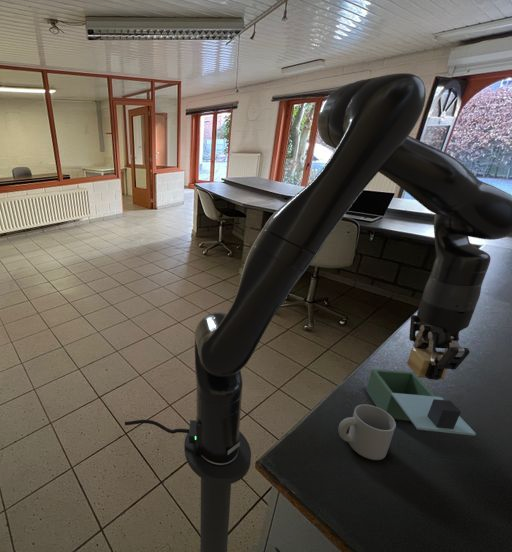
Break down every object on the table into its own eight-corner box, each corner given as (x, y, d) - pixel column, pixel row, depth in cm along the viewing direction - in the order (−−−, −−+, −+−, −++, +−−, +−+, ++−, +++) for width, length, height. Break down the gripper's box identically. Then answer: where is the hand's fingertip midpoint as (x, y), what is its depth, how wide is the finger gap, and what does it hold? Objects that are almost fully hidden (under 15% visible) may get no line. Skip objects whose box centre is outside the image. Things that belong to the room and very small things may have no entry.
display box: (384, 418, 74) (391, 394, 71) (366, 390, 83) (371, 368, 80) (429, 422, 72) (438, 399, 69) (405, 394, 81) (413, 371, 78)
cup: (393, 463, 63) (404, 433, 60) (341, 457, 65) (349, 427, 62) (375, 434, 70) (384, 405, 67) (329, 430, 72) (335, 401, 69)
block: (418, 377, 63) (424, 360, 61) (406, 364, 67) (411, 347, 65) (443, 379, 62) (449, 362, 60) (429, 365, 66) (435, 349, 64)
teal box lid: (417, 429, 62) (424, 409, 60) (391, 394, 71) (396, 376, 69) (475, 435, 60) (484, 415, 58) (440, 398, 69) (447, 380, 67)
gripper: (404, 285, 65) (387, 349, 72) (450, 317, 52) (424, 392, 59) (445, 285, 63) (424, 352, 70) (503, 319, 51) (471, 396, 57)
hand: (424, 370), depth 64 cm, fingers closed on block, 4 cm apart
